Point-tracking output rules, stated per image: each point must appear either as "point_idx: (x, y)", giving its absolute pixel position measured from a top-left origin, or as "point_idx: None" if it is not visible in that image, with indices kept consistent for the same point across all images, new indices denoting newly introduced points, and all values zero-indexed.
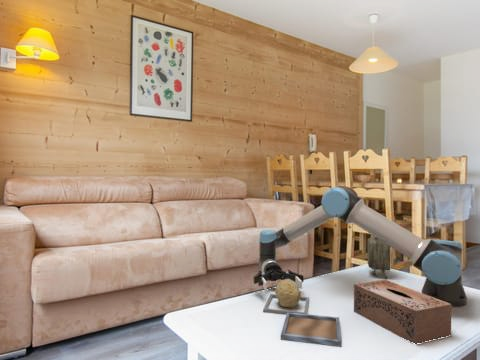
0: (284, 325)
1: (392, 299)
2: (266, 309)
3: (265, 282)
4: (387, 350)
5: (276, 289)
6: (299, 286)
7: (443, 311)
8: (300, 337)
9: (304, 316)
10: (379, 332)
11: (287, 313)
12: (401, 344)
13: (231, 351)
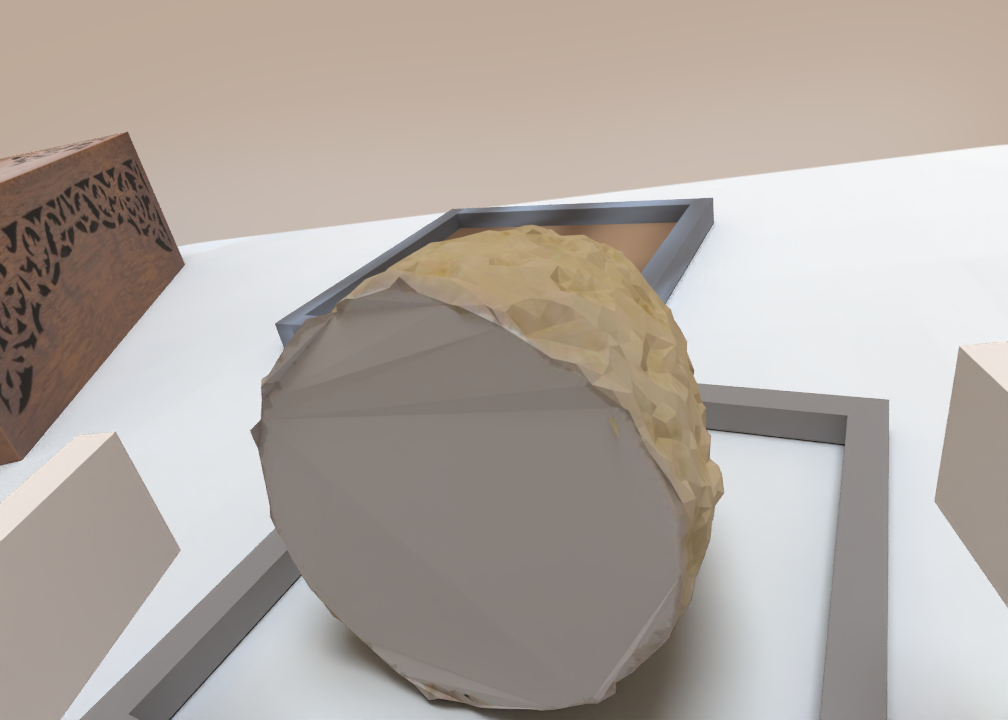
0: (678, 238)
1: (55, 158)
2: (844, 396)
3: (1006, 353)
4: (311, 238)
5: (693, 399)
6: (142, 561)
7: None
8: (613, 204)
9: None
10: (202, 301)
11: None
12: (225, 261)
13: (959, 159)
